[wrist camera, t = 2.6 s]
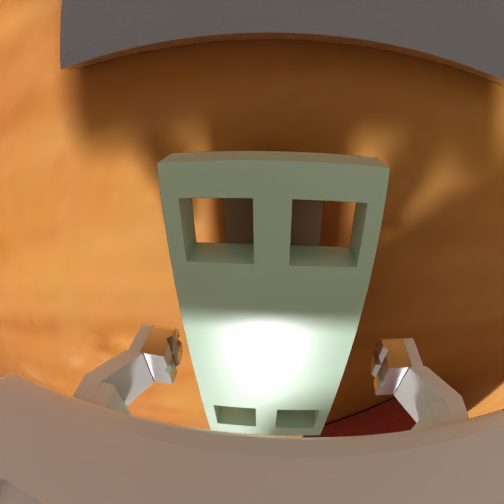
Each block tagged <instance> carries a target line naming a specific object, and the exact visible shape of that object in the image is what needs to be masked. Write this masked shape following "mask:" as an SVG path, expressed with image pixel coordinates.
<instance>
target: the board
mask: <svg viewBox="0 0 504 504" xmlns="http://www.w3.org/2000/svg"><path fill="white" fill-rule="evenodd" d="M157 169H158V177H159V186H160V193H161V201H162V208H163V215H164V222H165V229H166V235H167V241H168V247H169V253H170V259H171V265H172V270H173V276H174V281H175V286H176V291H177V296H178V301H179V306H180V311H181V316H182V320H183V325H184V329H185V334H186V338H187V343H188V347H189V351H190V355H191V359H192V363H193V367H194V371H195V375H196V379H197V383H198V387H199V391H200V394H201V398H202V401H203V405H204V409H205V412H206V416H207V419H208V422H209V426H210V429H211V430H216V431H225V432H235V433H248V434H263V435H320V434H321V432H322V430H323V427H324V425H325V422H326V420H327V417H328V414H329V412H330V409H331V407H332V404H333V401H334V399H335V396H336V393H337V390H338V387H339V385H340V382H341V379H342V376H343V373H344V370H345V367H346V364H347V361H348V358H349V355H350V351H351V348H352V345H353V342H354V338H355V335H356V331H357V328H358V324H359V321H360V317H361V314H362V310H363V306H364V302H365V298H366V294H367V290H368V286H369V282H370V278H371V273H372V269H373V265H374V260H375V255H376V250H377V246H378V240H379V235H380V230H381V224H382V219H383V213H384V207H385V201H386V194H387V187H388V180H389V172H390V168H389V167H388V166H387V165H385V164H384V163H383V162H382V161H380V160H379V159H378V158H376V157H366V156H355V155H343V154H329V153H311V152H287V151H211V152H186V153H171V154H170V155H168V156H167V157H165V158H164V159H162V160H161V161H159V162H158V163H157ZM192 198H253V233H254V244H234V243H198V242H196V235H195V226H194V217H193V207H192ZM292 199H301V200H324V201H343V202H356V205H355V213H354V220H353V227H352V234H351V241H350V247H329V246H299V245H290V238H291V217H292Z"/></svg>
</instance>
